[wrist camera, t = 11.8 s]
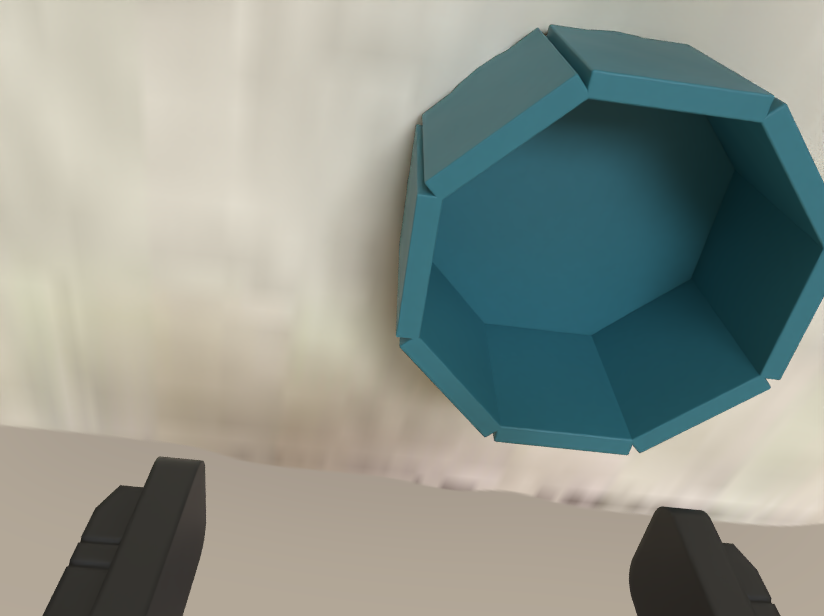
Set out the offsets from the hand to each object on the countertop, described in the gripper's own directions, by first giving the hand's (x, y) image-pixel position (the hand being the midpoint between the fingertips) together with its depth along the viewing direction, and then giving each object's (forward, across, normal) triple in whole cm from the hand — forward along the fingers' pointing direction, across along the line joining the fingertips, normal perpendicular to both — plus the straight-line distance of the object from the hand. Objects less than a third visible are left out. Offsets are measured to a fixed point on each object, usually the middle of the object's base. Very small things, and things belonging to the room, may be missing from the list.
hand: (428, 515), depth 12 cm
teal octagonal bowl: (+18, -7, +1) cm, 19 cm away
